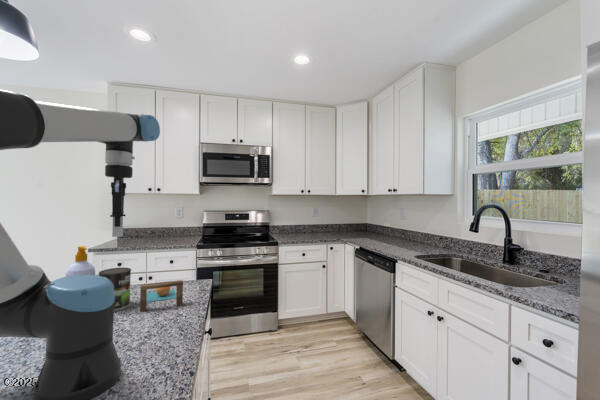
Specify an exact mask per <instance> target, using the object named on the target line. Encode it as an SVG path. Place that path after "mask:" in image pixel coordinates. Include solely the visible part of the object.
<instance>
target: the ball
mask: <svg viewBox="0 0 600 400" xmlns="http://www.w3.org/2000/svg"><path fill="white" fill-rule="evenodd" d="M170 290H171V287H163V288H155V292H157V294H158V295H159V296H165V295H167V294H168V293H169V292H170Z"/></svg>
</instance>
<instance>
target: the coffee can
mask: <svg viewBox="0 0 600 400" xmlns="http://www.w3.org/2000/svg"><path fill="white" fill-rule="evenodd" d="M131 271H132V268H129V267H113V268H106V269H103V270H100V271H99V272H98V276H102V277H105V278H107V279H109V280H110V281H111V282H112V283H113V286H114V295H115V301H114V312H117V311H122V310H124V309H126V308H129V306H130V305H131Z"/></svg>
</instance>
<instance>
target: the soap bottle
mask: <svg viewBox="0 0 600 400" xmlns="http://www.w3.org/2000/svg"><path fill="white" fill-rule="evenodd" d="M86 250H87V247H86V245H85V246H84V245H81V246H79V245H78V246H77V252H76V254H75V257H74V258H75V259H74V263H72V264H71V265H70V266H69V267H68V268H67V270H66V272H65V277H67V276H74V275H80V276H83V275H96V269H95V266H94V265H93V263H91V262H90V261H88V253H87V252H86Z"/></svg>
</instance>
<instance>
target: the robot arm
mask: <svg viewBox="0 0 600 400" xmlns="http://www.w3.org/2000/svg"><path fill="white" fill-rule="evenodd" d="M160 134H161V128H160V123H159V121H158V119H157V118H156V117H155V116H154V115H151V114H144V113H140V114H132V113H127V112H126V113H125V112H119V111H118V112H117V111H111V110H103V109H95V108H89V107H83V106H74V105H67V104H59V103H53V102H44V101H39V100H37V101H36V100H34V99H33V98H32V97H30V96H29V95H27V94H24V93H21V92H17V91H10V90H5V89H0V151H4V150H13V149H14V150H15V149H16V150H17V149H31V148H35V147H37V146H38V145H40V144H41V143H75V142H77V143H83V142H85V143H87V142H88V143H91V142H95V143H96V142H97V143H101V144H104V145H105V152H104V154H105V157H104V159H105V161H104V163H105V164H106V165H105V167H104V169H105V171H104V175H105V177H107V178H113V181H112V182H110V188H111V198H112V199H111V201H112V205H111V206H112V212H111V214H110V215H109V217H110V218H111V217H112V233H111V236H112V238H117V237H123V236H124V235H123V232H124V217H126V214H125V212H124V209H125V208H124V205H125V196H126V189H127V182H124V181H125V180H124V179H131V178H133V167H132V166H133V160H135V159H136V158H135V156H133V155H134V151H133V150H134V148H133V147H134V142H144V143H145V142H154V141H157V140H158V138H160ZM114 301H115V295H114V286H113V283H112V282H111V281H110V280H109V279H107V278H105V277H102V276H99V275H96V274H95V275H83V276H80V275H74V276H67V277H66V276H64V277H60V278H57V279H55V280H52V281H51V280H50V279H49V278H48V276H47V274H46V273H45V271H44V270H43V268H42V267H41V266H38V265H34V264H28V263H27V261H26V259H25V258H24V256H23V255H22V253H21V251H20V250H19V249H18V247H17V245H16V244H15V242H14V240H12V238H11V236H10V235H9V234H8V232H7V231H6V230H5V227H4V226H3V224H2V223H1V222H0V338H7V337H8V338H28V339H30V338H31V339H45V340H46V342H45V346H46V347H45V348H46V349H45V350H46V352H45V360H44V363H43V364H42V367H41V370H40V372H39V375H38V378H37V380H36V382H35V384H34V386H33V390H32V391H33V394H32V400H91V399H93V398H95V397H96V396H99V395H100V394H103V392H105V391H107V390H108V389H110V388H111V387H112V386H113V385H114V384H115V383H116V382H117V381H118V379H120V376H121V372H122V360H121V358H120V357H119V354H118V352H117V349H116V346H115V343H114V317H115V316H114V315H115V314H114V313H115V311H114Z"/></svg>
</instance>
